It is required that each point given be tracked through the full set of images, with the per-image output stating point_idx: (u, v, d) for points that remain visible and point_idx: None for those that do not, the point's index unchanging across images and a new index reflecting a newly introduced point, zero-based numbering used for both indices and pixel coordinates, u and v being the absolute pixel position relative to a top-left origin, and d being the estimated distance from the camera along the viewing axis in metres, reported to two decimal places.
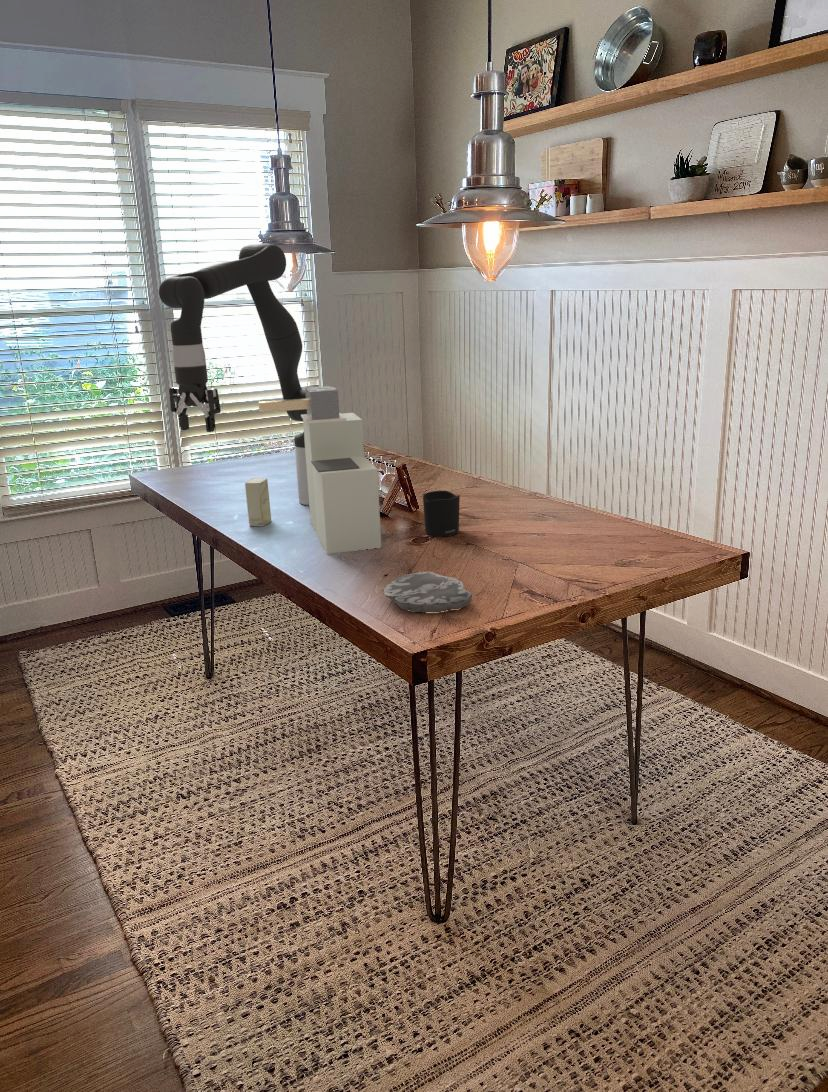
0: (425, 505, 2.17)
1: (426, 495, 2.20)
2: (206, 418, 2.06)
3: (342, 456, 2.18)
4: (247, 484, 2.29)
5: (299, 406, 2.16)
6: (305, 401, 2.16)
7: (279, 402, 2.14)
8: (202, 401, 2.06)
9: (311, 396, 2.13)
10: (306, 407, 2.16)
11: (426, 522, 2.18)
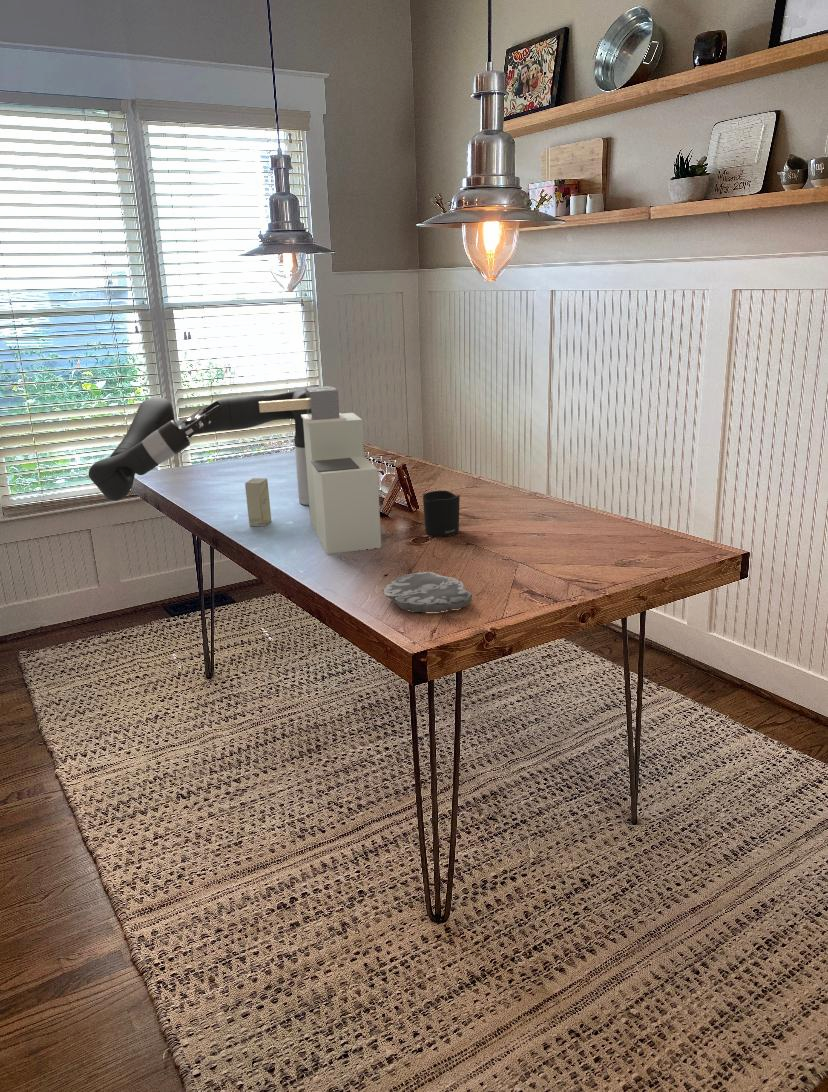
0: (425, 505, 2.17)
1: (426, 495, 2.20)
2: (212, 419, 2.08)
3: (342, 456, 2.18)
4: (247, 484, 2.29)
5: (299, 406, 2.16)
6: (305, 401, 2.16)
7: (279, 402, 2.14)
8: (196, 424, 2.09)
9: (311, 396, 2.13)
10: (306, 407, 2.16)
11: (426, 522, 2.18)
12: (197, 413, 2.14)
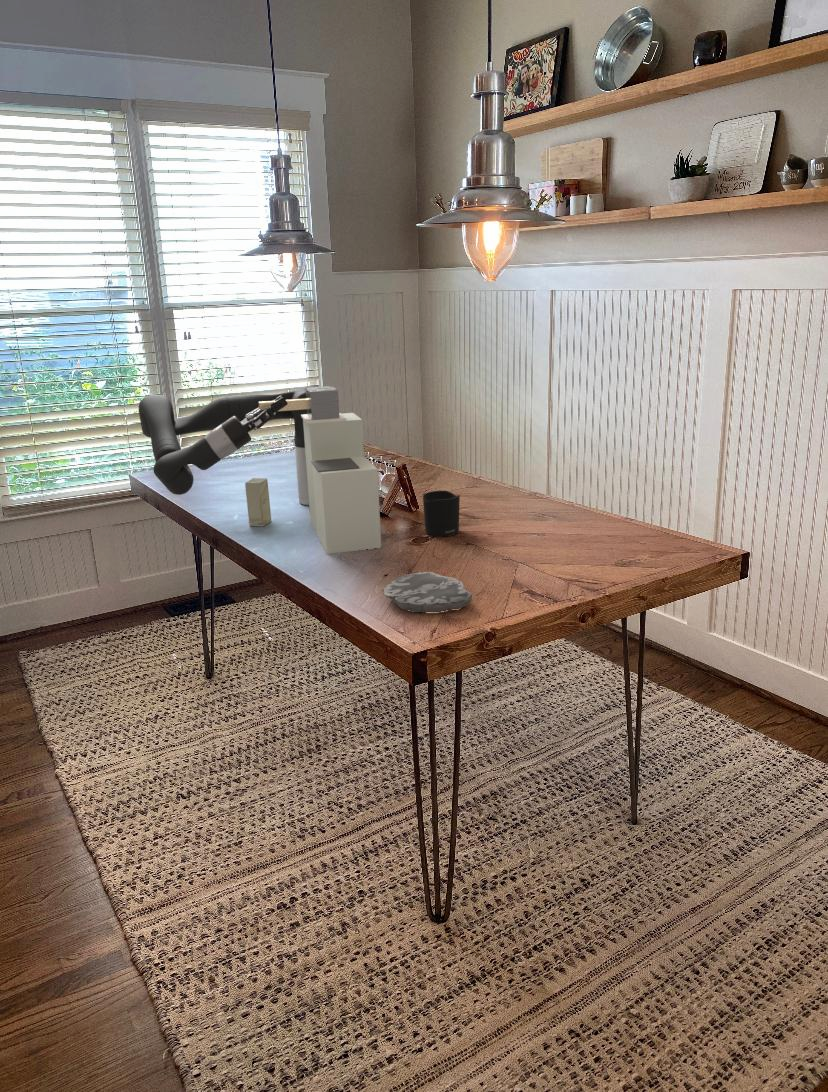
0: (425, 505, 2.17)
1: (426, 495, 2.20)
2: (276, 411, 2.14)
3: (342, 456, 2.18)
4: (247, 484, 2.29)
5: (299, 406, 2.16)
6: (305, 401, 2.16)
7: None
8: None
9: (311, 396, 2.13)
10: (306, 407, 2.16)
11: (426, 522, 2.18)
12: None
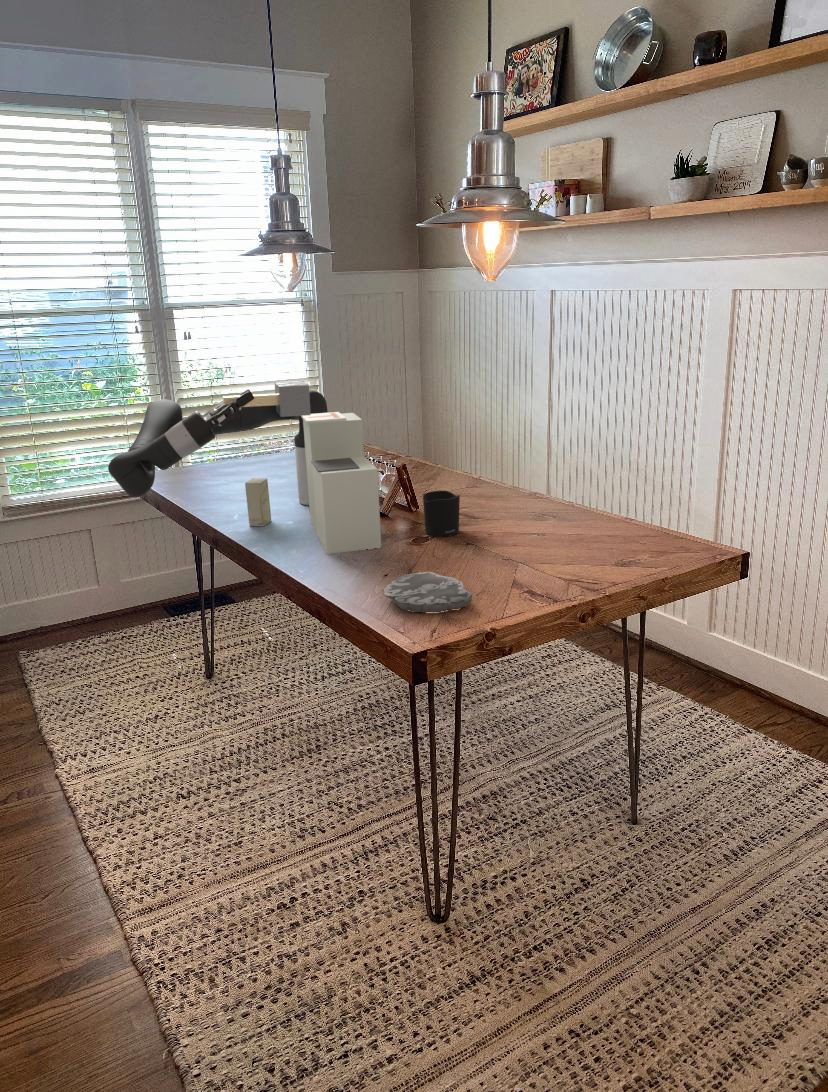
0: (425, 505, 2.17)
1: (426, 495, 2.20)
2: (242, 406, 1.98)
3: (342, 456, 2.18)
4: (247, 484, 2.29)
5: (267, 402, 2.00)
6: (274, 396, 2.00)
7: None
8: None
9: (280, 391, 1.97)
10: (275, 403, 2.00)
11: (426, 522, 2.18)
12: (224, 404, 2.00)
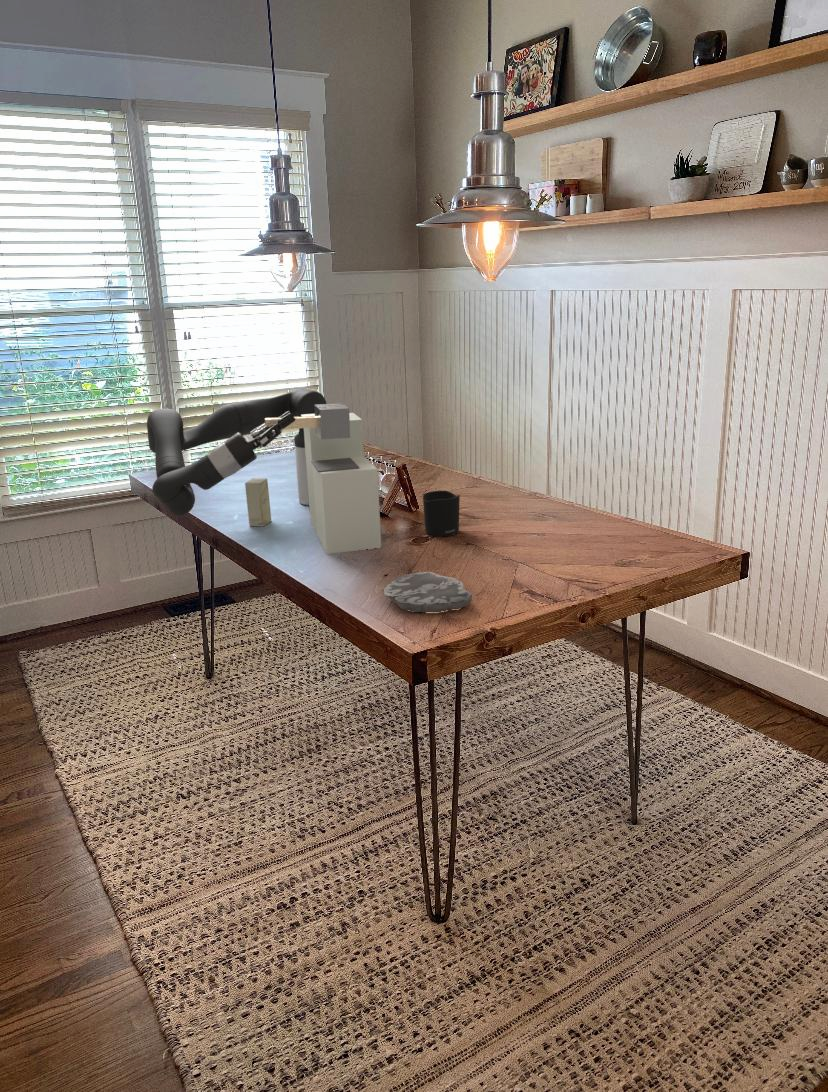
0: (425, 505, 2.17)
1: (426, 495, 2.20)
2: (284, 427, 2.02)
3: (342, 456, 2.18)
4: (247, 484, 2.29)
5: (308, 424, 2.04)
6: (314, 419, 2.04)
7: None
8: None
9: (321, 414, 2.00)
10: (315, 425, 2.04)
11: (426, 522, 2.18)
12: None
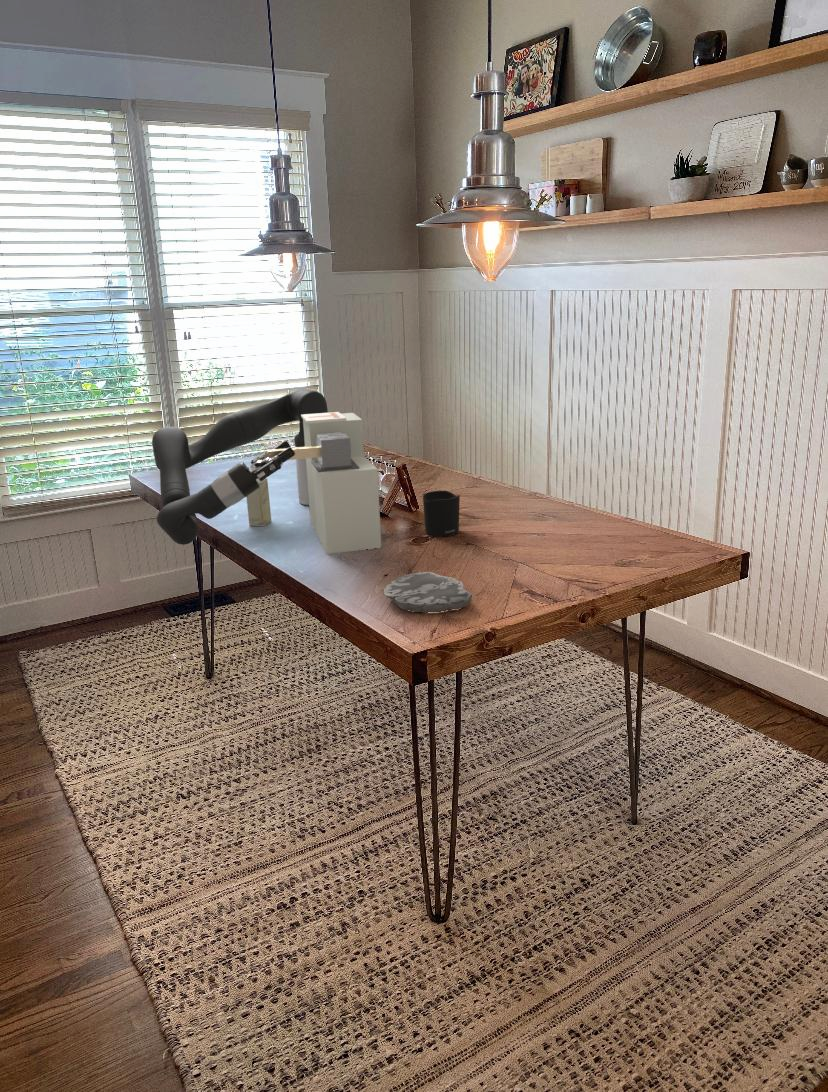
0: (425, 505, 2.17)
1: (426, 495, 2.20)
2: (283, 462, 2.02)
3: None
4: None
5: (309, 454, 2.06)
6: (315, 449, 2.06)
7: None
8: None
9: (322, 445, 2.03)
10: (316, 455, 2.06)
11: (426, 522, 2.18)
12: (266, 454, 2.07)
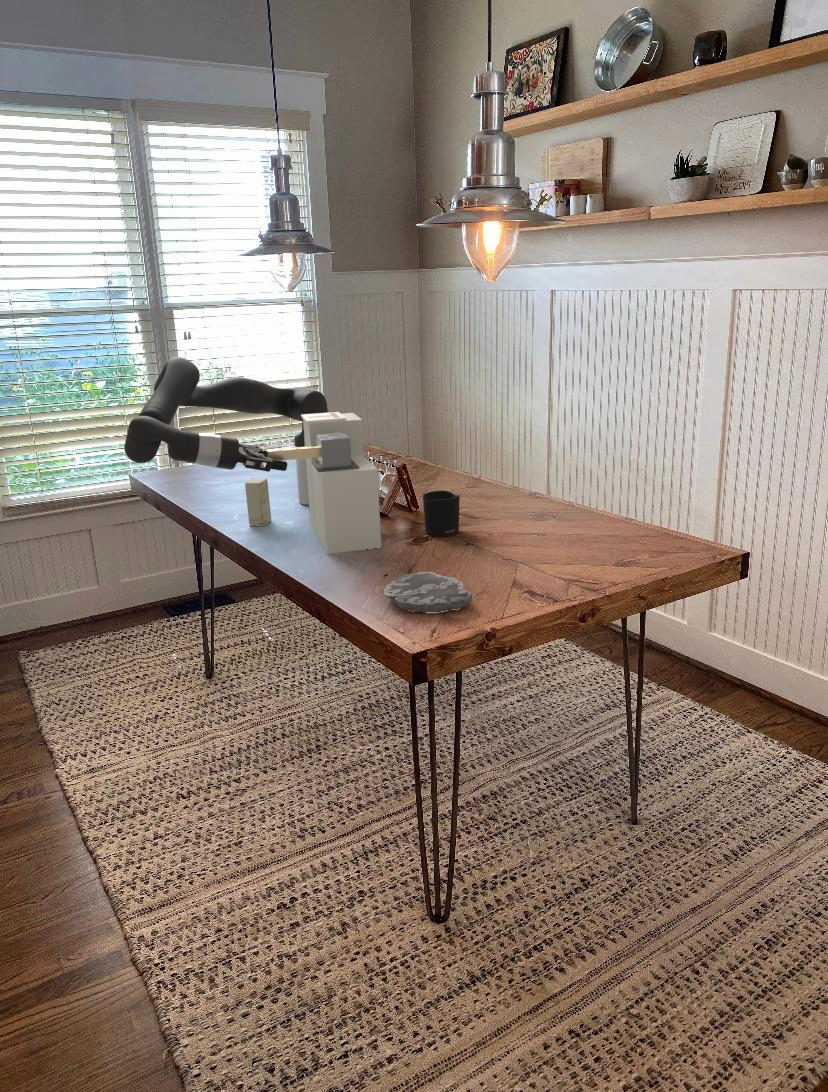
0: (425, 505, 2.17)
1: (426, 495, 2.20)
2: (272, 468, 2.01)
3: None
4: (247, 484, 2.29)
5: (309, 454, 2.06)
6: (315, 449, 2.06)
7: (288, 450, 2.04)
8: None
9: (322, 445, 2.03)
10: (316, 455, 2.06)
11: (426, 522, 2.18)
12: (256, 449, 2.05)
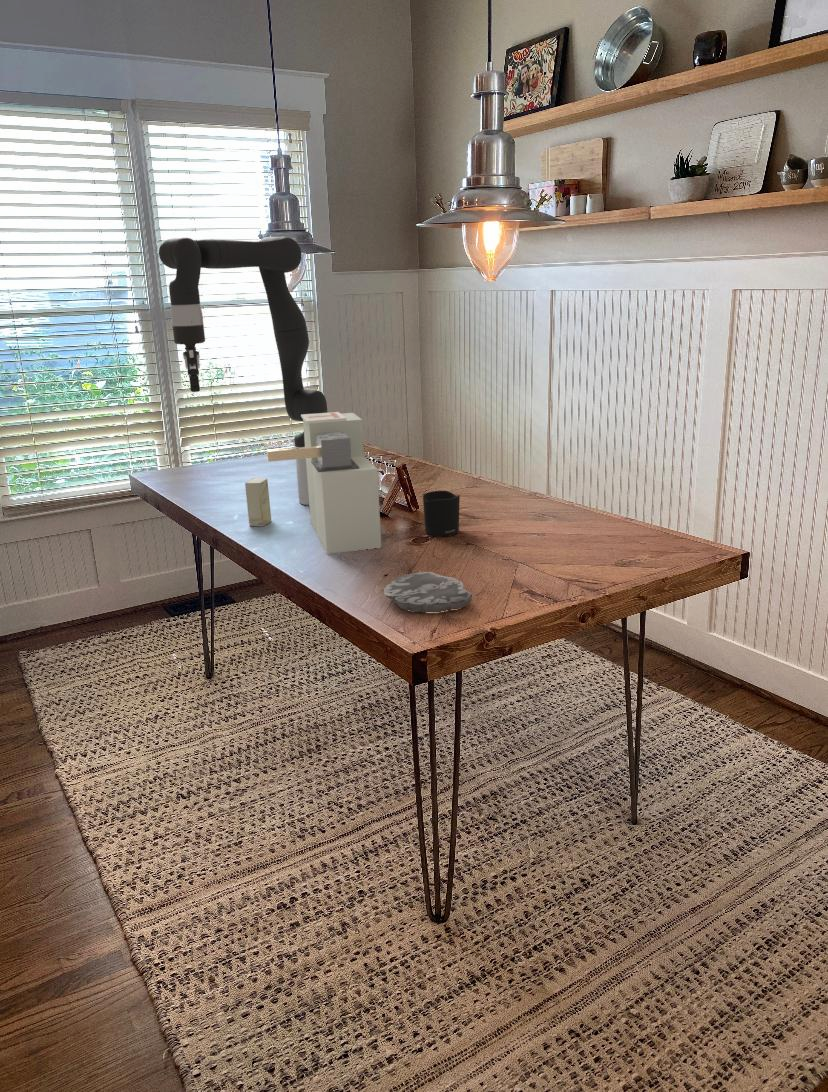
0: (425, 505, 2.17)
1: (426, 495, 2.20)
2: None
3: None
4: (247, 484, 2.29)
5: (309, 454, 2.06)
6: (315, 449, 2.06)
7: (288, 450, 2.04)
8: None
9: (322, 445, 2.03)
10: (316, 455, 2.06)
11: (426, 522, 2.18)
12: None
